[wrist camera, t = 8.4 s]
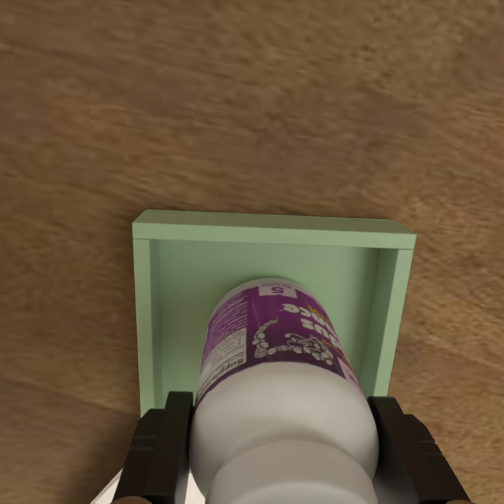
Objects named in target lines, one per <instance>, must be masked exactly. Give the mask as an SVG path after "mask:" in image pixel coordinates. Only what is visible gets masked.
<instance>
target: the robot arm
mask: <svg viewBox="0 0 504 504" xmlns="http://www.w3.org/2000/svg"><path fill="white" fill-rule="evenodd" d="M366 401H367V403H368V405H369V408H370V410H371V413H372V415H373V418H374V421H375V424H376V428H377V432H378V438H379V457H378V464H377V468H376V472H375V475H374V478H373V480H372V484H373V487H374V490H375V494H376V496H377V499H378V502H379V504H474V503H472V502H471V501H470V499H469V497H468V496H467V494H466V492H465V491H464V489H463V487H462V486H461V484H460V482H459V481H458V479H457V477H456V476H455V474H454V472H453V471H452V469H451V467H450V466H449V464H448V462H447V461H446V459H445V457H444V456H442V452H441V451H440V449H439V447H438V446H437V444H435V441H434V439H433V437H432V436H431V434H430V432H429V431H428V429H427V427H426V426H425V425H424V424H422V423H421V422H420V421H419V420H418V419H417V418H416V417H415V416H413V415H412V414H404V413H403V412H402V410H401V408H400V406H399V404H398V402H397V401H396V399H395V398H394V397H390V396H369V397H368V398H367V400H366ZM193 409H194V394H193V391H169V393H168V396H167V400H166V404H165V408H164V409H154V408H150V409H149V410H148V411H147V412H146V413H145V414H144V415H143V417H142V418H141V419H140V420H139V421H138V424H137V427H136V430H135V433H134V438H133V439H132V442H131V445H130V450H129V451H128V455H127V458H126V461H125V464H124V467H123V470H122V473H121V476H120V479H119V482H118V485H117V488H116V491H115V494H114V497H113V499H112V501H111V503H110V504H185V499H186V492H187V485H188V478H189V471H190V464H189V456H188V445H189V431H190V425H191V420H192V415H193Z"/></svg>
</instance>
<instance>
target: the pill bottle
mask: <svg viewBox="0 0 504 504" xmlns="http://www.w3.org/2000/svg"><path fill="white" fill-rule="evenodd" d="M188 456H189V464H190V468H191V472H192V475H193V478H194V481H195V483H196V485H197V487H198V489H199V491H200V493H201V494H202V495H203V497H204V498H205V504H379V503H378V500H377V497H376V494H375V490H374V487H373V484H372V480H373V478H374V475H375V472H376V468H377V464H378V457H379V438H378V432H377V428H376V424H375V421H374V418H373V415H372V413H371V410H370V408H369V405H368V403H367V401H366V399H365V396H364V394H363V392H362V389H361V387H360V385H359V383H358V381H357V379H356V376H355V374H354V372H353V369H352V367H351V365H350V363H349V360H348V358H347V356H346V354H345V351H344V349H343V347H342V345H341V342H340V340H339V338H338V336H337V334H336V332H335V330H334V327H333V325H332V323H331V321H330V319H329V317H328V315H327V313H326V311H325V309H324V307H323V305H322V304H321V302H320V301H319V300H318V298H317V297H316V296H315V295H314V294H313V293H312V292H310V291H309V290H308V289H307V288H305V287H304V286H302V285H300V284H298V283H295V282H293V281H290V280H286V279H280V278H260V279H255V280H251V281H248V282H246V283H243V284H241V285H239V286H237V287H235V288H234V289H232V290H231V291H229V292H228V293H227V294H226V295H225V296H224V297H223V298H222V299H221V300H220V301H219V302H218V304H217V305H216V307H215V309H214V310H213V312H212V314H211V317H210V320H209V323H208V327H207V333H206V338H205V345H204V351H203V356H202V363H201V368H200V374H199V379H198V386H197V392H196V398H195V404H194V409H193V415H192V420H191V425H190V431H189V445H188Z"/></svg>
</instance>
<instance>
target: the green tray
mask: <svg viewBox="0 0 504 504" xmlns="http://www.w3.org/2000/svg"><path fill="white" fill-rule="evenodd" d="M132 235H133V238H134V239H133V255H134V277H135V299H136V321H137V343H138V365H139V386H140V408H141V418H142V417H143V415H144V414H145V413H146V412H147V411H148V410H149V409H150V408H154V409H164V408H165V404H166V400H167V396H168V393H169V391H193V394H194V404H195V398H196V392H197V386H198V379H199V374H200V368H201V363H202V356H203V351H204V345H205V338H206V333H207V327H208V323H209V320H210V317H211V314H212V312H213V310H214V309H215V307H216V305H217V304H218V302H219V301H220V300H221V299H222V298H223V297H224V296H225V295H226V294H227V293H228V292H229V291H231V290H232V289H234V288H235V287H237V286H239V285H241V284H243V283H246V282H248V281H251V280H255V279H260V278H280V279H286V280H290V281H293V282H295V283H298V284H300V285H302V286H304V287H305V288H307V289H308V290H309V291H310V292H312V293H313V294H314V295H315V296H316V297H317V298H318V300H319V301H320V302H321V304H322V305H323V307H324V309H325V311H326V313H327V315H328V317H329V319H330V321H331V323H332V325H333V327H334V330H335V332H336V334H337V336H338V338H339V340H340V342H341V345H342V347H343V349H344V351H345V354H346V356H347V358H348V360H349V363H350V365H351V367H352V369H353V372H354V374H355V376H356V379H357V381H358V383H359V385H360V387H361V389H362V392H363V394H364V396H365V399H366V400H367V398H368V397H369V396H387V391H388V386H389V381H390V375H391V370H392V364H393V359H394V354H395V348H396V343H397V337H398V332H399V327H400V321H401V316H402V311H403V305H404V300H405V294H406V289H407V284H408V278H409V273H410V268H411V262H412V257H413V249H414V246H415V241H416V236H417V235H416V233H414V232H412V231H411V230H409V229H408V228H406V227H405V226H403V225H402V224H400V223H399V222H397V221H396V220H391V219H367V218H343V217H319V216H296V215H272V214H248V213H224V212H200V211H176V210H152V209H146V210H145V211H144V212H143V213H142V214H141V215H140V216H139V217H138V218H136V219H135V220H134V221H133V222H132Z"/></svg>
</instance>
